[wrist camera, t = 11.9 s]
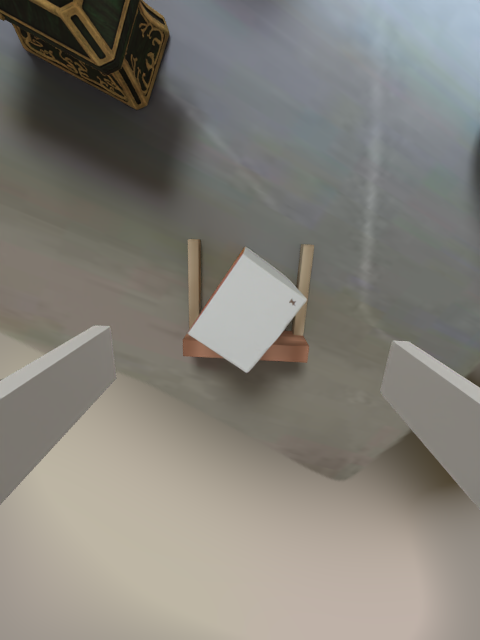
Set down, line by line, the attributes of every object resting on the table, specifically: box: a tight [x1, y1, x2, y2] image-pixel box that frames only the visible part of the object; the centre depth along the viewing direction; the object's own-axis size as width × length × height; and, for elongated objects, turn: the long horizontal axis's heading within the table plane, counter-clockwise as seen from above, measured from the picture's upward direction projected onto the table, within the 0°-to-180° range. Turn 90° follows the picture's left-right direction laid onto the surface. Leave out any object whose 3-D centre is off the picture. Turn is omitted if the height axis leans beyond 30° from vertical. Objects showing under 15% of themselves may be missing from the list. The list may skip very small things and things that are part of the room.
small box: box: [188, 247, 307, 373], centre depth 27 cm, size 8×6×13 cm
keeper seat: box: [183, 239, 314, 363], centre depth 31 cm, size 14×13×5 cm
